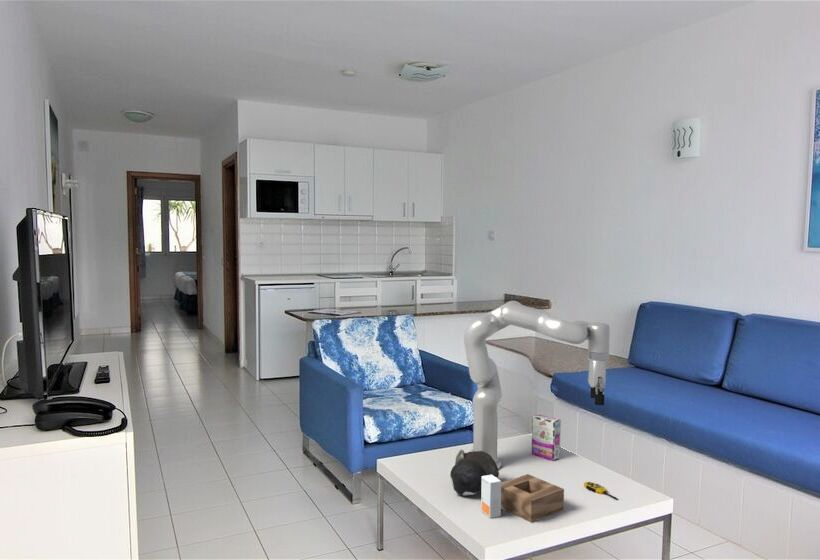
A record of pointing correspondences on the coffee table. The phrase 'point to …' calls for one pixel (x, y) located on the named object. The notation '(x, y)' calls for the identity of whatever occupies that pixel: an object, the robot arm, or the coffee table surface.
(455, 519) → the coffee table surface
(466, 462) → the dark grey rounded piece
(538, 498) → the socket block
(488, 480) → the skincare box
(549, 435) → the candy bar box
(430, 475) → the coffee table surface
